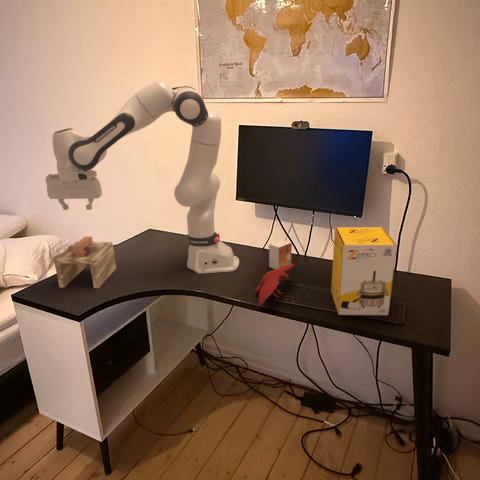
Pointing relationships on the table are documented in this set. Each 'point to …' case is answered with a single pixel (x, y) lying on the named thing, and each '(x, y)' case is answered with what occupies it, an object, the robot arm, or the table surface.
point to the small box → (280, 254)
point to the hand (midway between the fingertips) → (77, 209)
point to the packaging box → (362, 270)
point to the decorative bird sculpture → (272, 282)
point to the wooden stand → (98, 259)
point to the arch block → (82, 249)
